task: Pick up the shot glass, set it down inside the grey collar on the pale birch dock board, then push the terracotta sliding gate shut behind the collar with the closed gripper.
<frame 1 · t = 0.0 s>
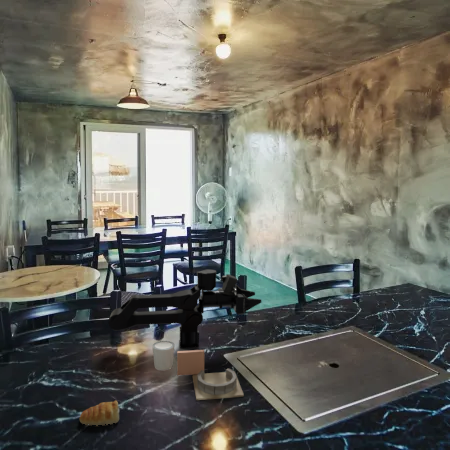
hand: (258, 297, 139), 17 cm above the table, tool horizontal, fingers open, 9 cm apart
gate: (190, 362, 114), point 4 cm above the table, slide at 7.0 cm
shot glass: (163, 366, 120), on the table
pastry: (103, 420, 93), on the table
dock: (216, 385, 109), on the table
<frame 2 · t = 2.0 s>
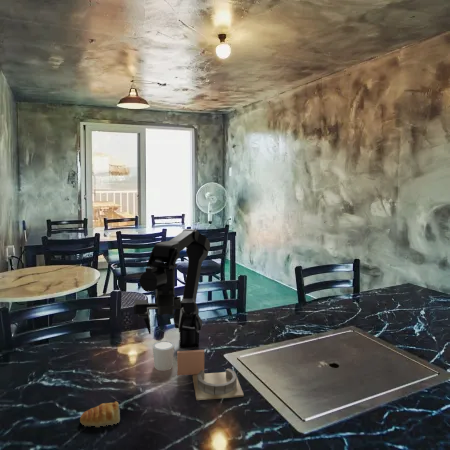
hand: (164, 332, 119), 11 cm above the table, tool pointing down, fingers open, 9 cm apart
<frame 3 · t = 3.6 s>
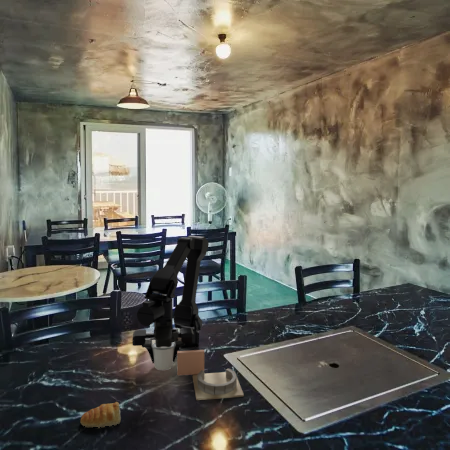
hand: (163, 362, 120), 1 cm above the table, tool pointing down, fingers closed on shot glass, 6 cm apart
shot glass: (163, 366, 120), on the table, touching gripper
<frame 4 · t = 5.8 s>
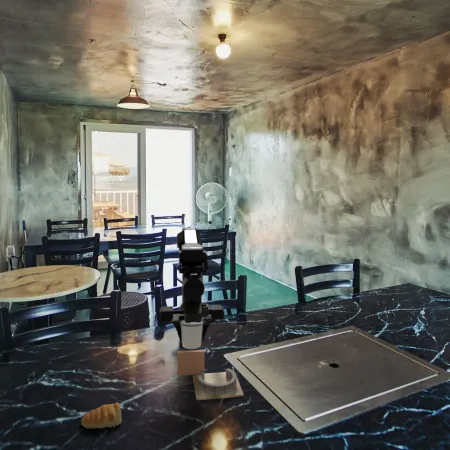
hand: (191, 341, 113), 11 cm above the table, tool pointing down, fingers closed on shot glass, 6 cm apart
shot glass: (191, 345, 113), point 10 cm above the table, touching gripper
when the fingers open (4 cm above the table, at t = 8.2 s): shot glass drops 2 cm, resting on dock.
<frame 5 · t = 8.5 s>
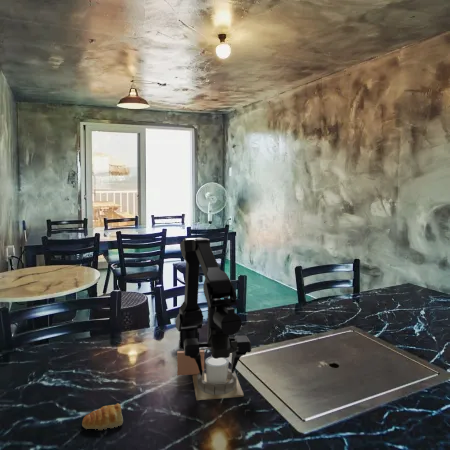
hand: (216, 373, 109), 4 cm above the table, tool pointing down, fingers open, 9 cm apart
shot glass: (216, 384, 109), resting on dock
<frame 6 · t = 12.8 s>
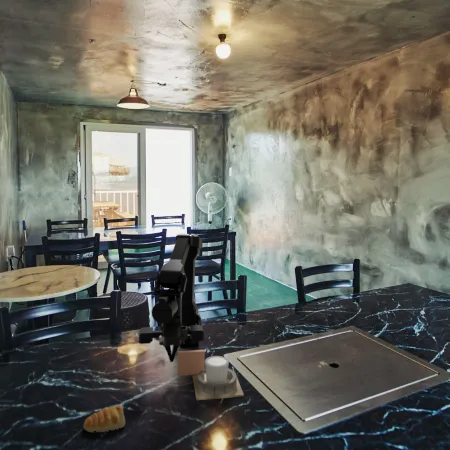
hand: (171, 361, 113), 5 cm above the table, tool pointing down, fingers closed
gate: (191, 362, 114), point 4 cm above the table, slide at 6.9 cm, touching gripper
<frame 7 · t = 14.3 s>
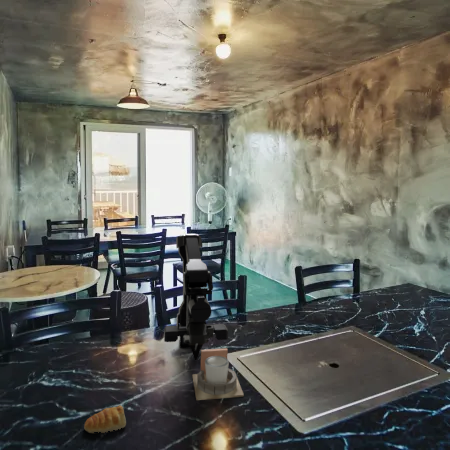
hand: (195, 360, 114), 5 cm above the table, tool pointing down, fingers closed
gate: (214, 360, 115), point 4 cm above the table, slide at -0.1 cm, touching gripper
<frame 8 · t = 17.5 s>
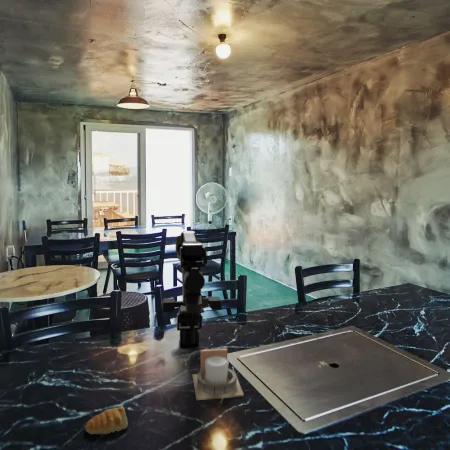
hand: (191, 330, 122), 11 cm above the table, tool pointing down, fingers closed
gate: (213, 361, 115), point 4 cm above the table, slide at 0.0 cm
at the end: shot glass 0.1 cm off-centre on the dock, point 0.3 cm above the dock's base; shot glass tilted 0°; gate slide at 0.0 cm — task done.
